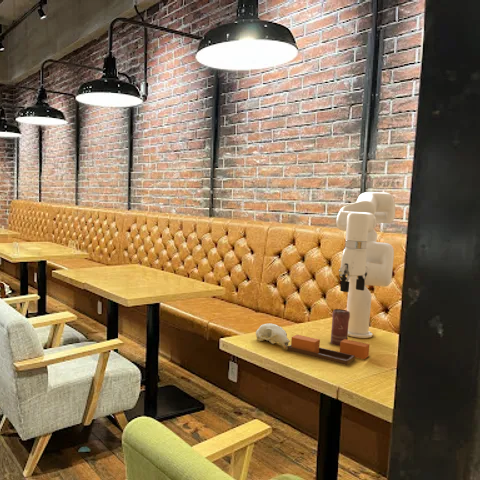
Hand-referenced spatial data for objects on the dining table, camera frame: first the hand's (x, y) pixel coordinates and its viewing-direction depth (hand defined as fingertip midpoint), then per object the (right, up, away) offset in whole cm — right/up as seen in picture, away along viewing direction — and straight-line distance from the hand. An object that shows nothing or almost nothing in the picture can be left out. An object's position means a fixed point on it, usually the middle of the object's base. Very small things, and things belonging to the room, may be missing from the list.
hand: (352, 290), depth 183 cm
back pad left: (-18, -23, 0) cm, 29 cm away
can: (-1, -23, +11) cm, 26 cm away
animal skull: (-28, -22, +8) cm, 37 cm away
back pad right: (0, -24, -2) cm, 24 cm away
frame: (-13, -24, -4) cm, 28 cm away
